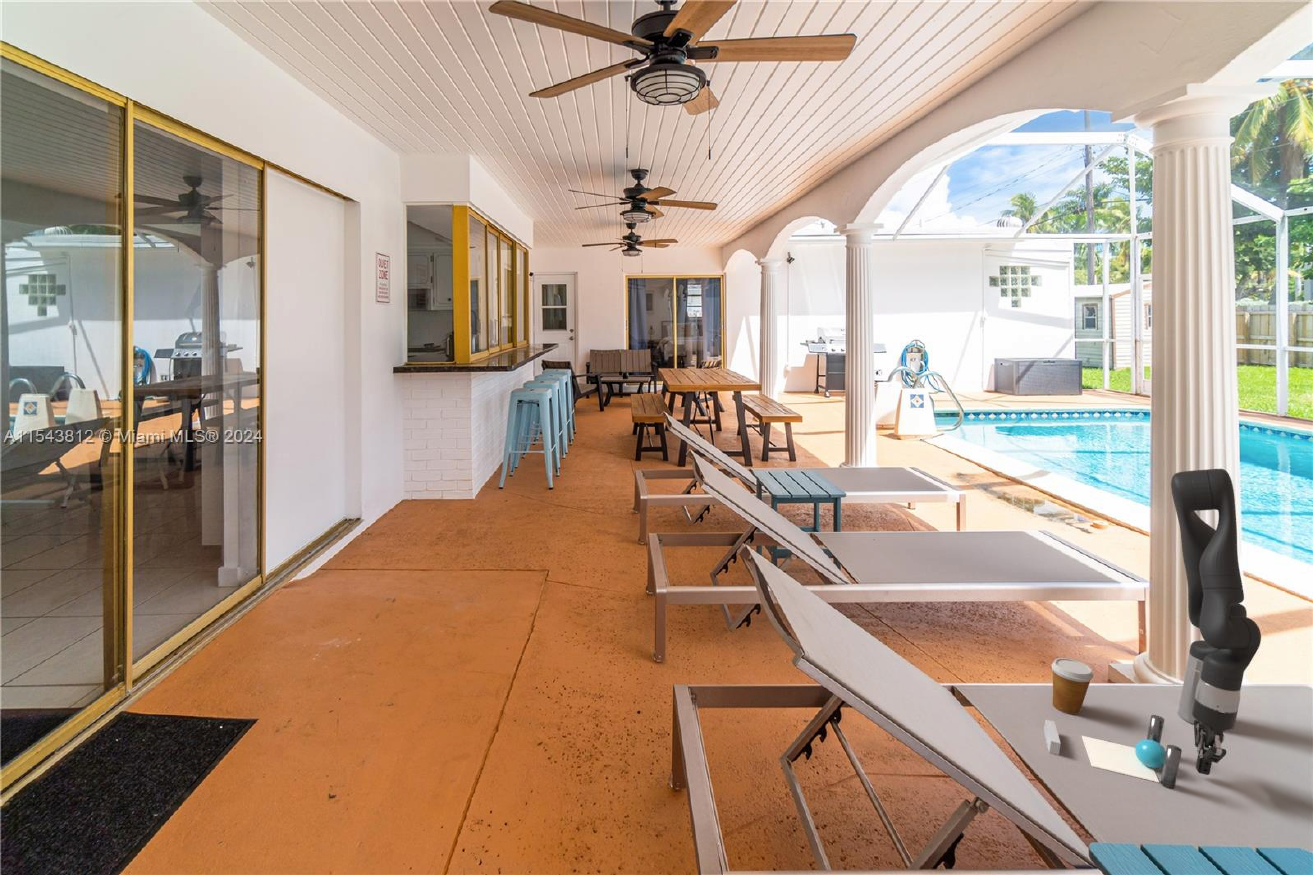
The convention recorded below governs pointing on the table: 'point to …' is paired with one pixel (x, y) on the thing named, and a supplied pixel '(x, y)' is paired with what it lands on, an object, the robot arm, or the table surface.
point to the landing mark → (1117, 759)
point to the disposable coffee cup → (1070, 684)
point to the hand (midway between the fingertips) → (1202, 772)
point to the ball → (1150, 753)
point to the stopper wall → (1052, 737)
